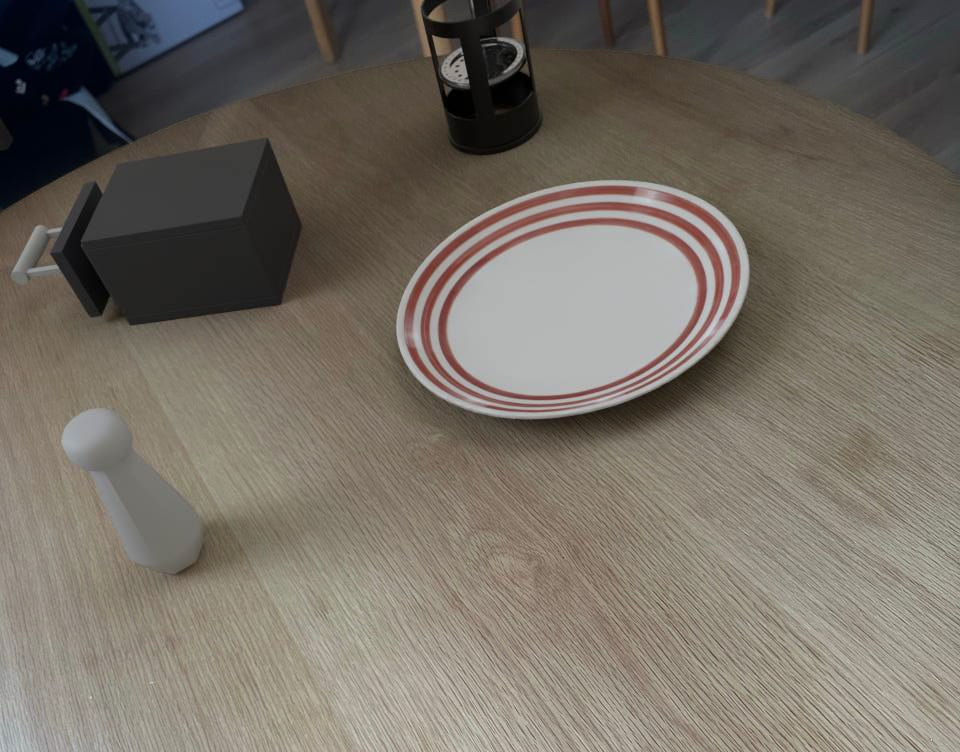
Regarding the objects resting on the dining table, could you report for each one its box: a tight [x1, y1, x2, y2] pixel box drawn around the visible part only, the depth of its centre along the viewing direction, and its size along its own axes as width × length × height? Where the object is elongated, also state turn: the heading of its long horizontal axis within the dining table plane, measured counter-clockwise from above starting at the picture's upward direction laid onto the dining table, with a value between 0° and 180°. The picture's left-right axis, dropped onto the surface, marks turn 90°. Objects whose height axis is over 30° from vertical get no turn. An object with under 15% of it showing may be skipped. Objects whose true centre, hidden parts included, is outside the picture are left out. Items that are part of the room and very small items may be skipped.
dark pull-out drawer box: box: [10, 180, 118, 318], centre depth 93 cm, size 20×11×7 cm, turn 86°
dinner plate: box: [395, 179, 751, 420], centre depth 80 cm, size 28×27×3 cm
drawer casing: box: [81, 137, 303, 326], centre depth 92 cm, size 15×12×9 cm
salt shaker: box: [60, 407, 204, 576], centre depth 70 cm, size 6×6×13 cm
